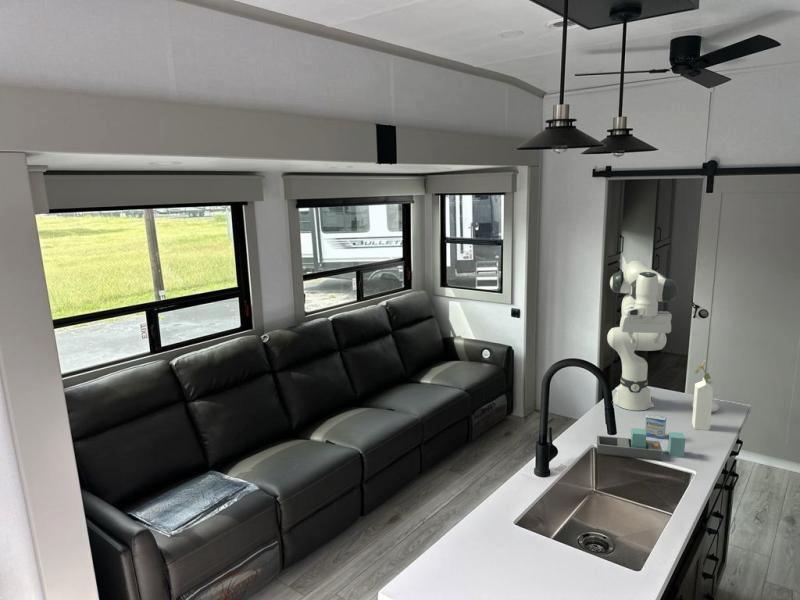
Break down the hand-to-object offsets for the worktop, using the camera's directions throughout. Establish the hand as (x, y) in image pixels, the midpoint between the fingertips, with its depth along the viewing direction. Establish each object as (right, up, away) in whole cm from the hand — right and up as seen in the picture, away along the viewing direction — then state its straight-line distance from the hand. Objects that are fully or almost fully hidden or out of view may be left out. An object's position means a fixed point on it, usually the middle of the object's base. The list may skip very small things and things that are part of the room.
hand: (644, 343), depth 238 cm
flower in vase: (+39, -34, +25) cm, 57 cm away
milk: (+28, -38, +8) cm, 48 cm away
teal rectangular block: (+6, -43, -14) cm, 46 cm away
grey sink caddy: (-12, -43, -12) cm, 46 cm away
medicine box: (+5, -40, +2) cm, 40 cm away
